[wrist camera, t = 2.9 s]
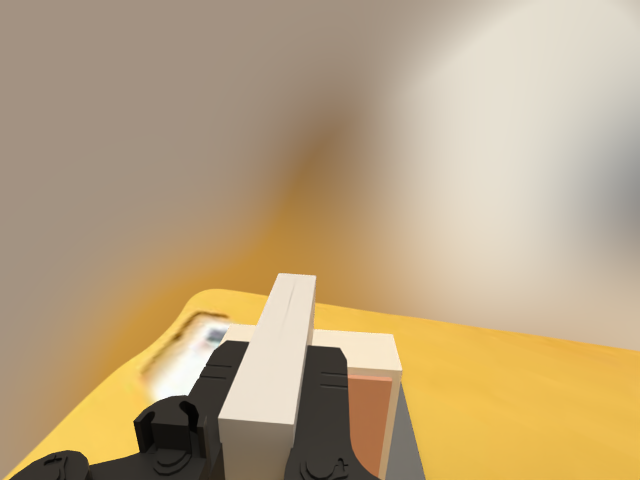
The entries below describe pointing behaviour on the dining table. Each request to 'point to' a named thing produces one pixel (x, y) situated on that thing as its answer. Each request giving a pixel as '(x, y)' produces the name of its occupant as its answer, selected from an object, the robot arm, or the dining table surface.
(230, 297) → the dining table surface
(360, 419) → the tile
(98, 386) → the dining table surface
